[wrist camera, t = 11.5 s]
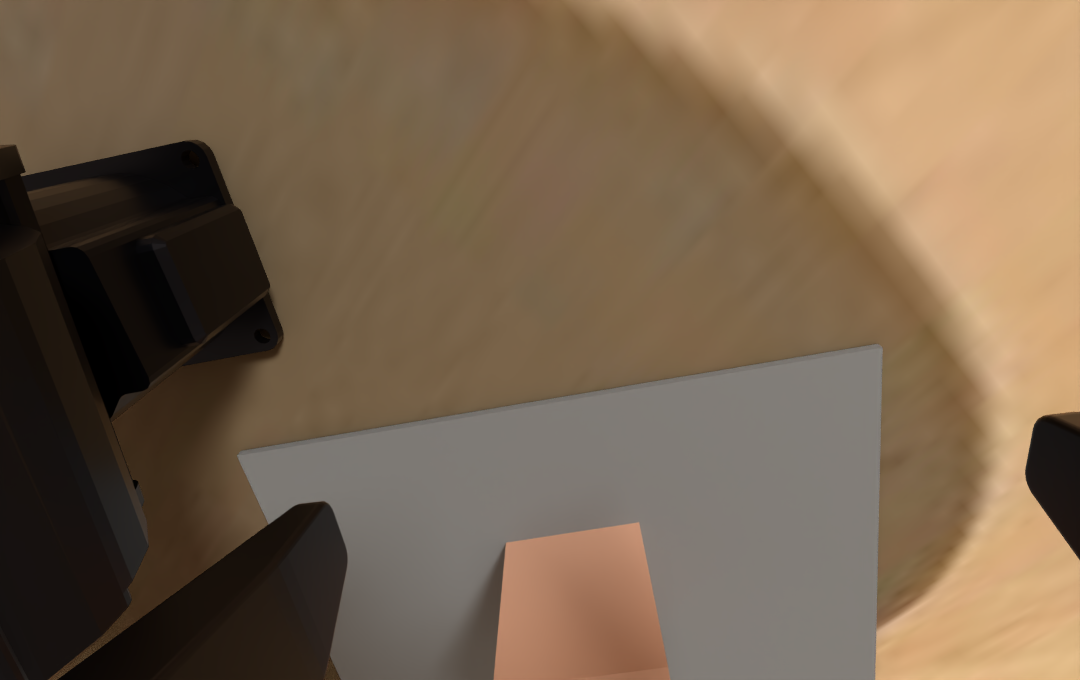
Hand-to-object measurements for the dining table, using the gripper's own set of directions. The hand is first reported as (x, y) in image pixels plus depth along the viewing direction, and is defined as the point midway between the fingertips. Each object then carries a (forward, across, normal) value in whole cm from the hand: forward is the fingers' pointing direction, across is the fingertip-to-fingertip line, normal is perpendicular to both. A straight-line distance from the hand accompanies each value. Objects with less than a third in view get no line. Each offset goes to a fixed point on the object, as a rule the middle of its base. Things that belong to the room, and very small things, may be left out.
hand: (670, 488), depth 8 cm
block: (+12, +2, +13) cm, 18 cm away
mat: (+12, +2, +13) cm, 18 cm away
